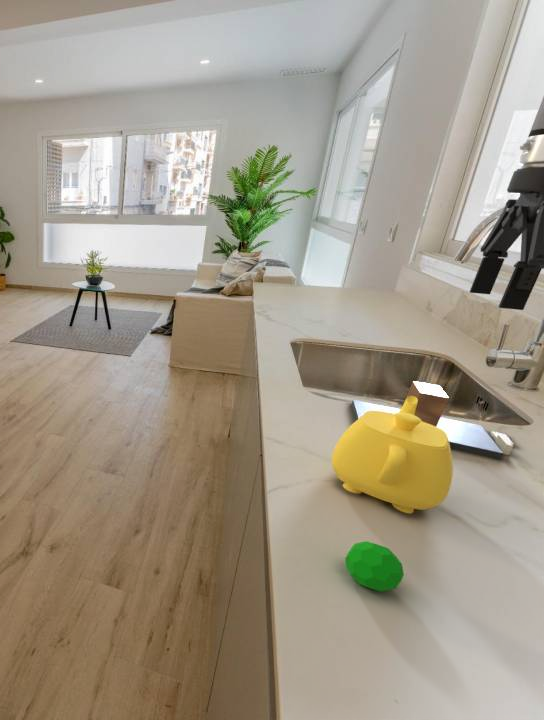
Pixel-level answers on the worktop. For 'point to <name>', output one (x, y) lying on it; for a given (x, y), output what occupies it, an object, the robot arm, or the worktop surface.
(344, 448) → the teapot
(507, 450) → the white small block
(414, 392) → the brown block
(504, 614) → the worktop surface
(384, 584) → the polyhedron
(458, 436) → the slate board
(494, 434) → the white flat block
